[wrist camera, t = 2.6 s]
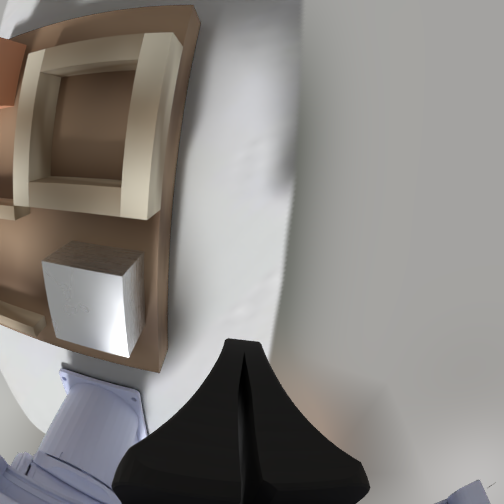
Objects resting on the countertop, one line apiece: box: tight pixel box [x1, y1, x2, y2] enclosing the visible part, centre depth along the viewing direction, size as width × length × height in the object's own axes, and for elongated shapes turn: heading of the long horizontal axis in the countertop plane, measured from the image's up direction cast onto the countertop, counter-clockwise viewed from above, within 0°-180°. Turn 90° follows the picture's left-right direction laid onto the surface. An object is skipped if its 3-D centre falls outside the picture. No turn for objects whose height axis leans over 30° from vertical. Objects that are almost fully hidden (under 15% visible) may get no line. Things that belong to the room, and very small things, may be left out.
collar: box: [13, 32, 183, 220], centre depth 11 cm, size 8×8×2 cm
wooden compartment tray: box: [0, 5, 201, 373], centre depth 13 cm, size 21×16×4 cm
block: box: [42, 241, 145, 358], centre depth 13 cm, size 4×4×3 cm
